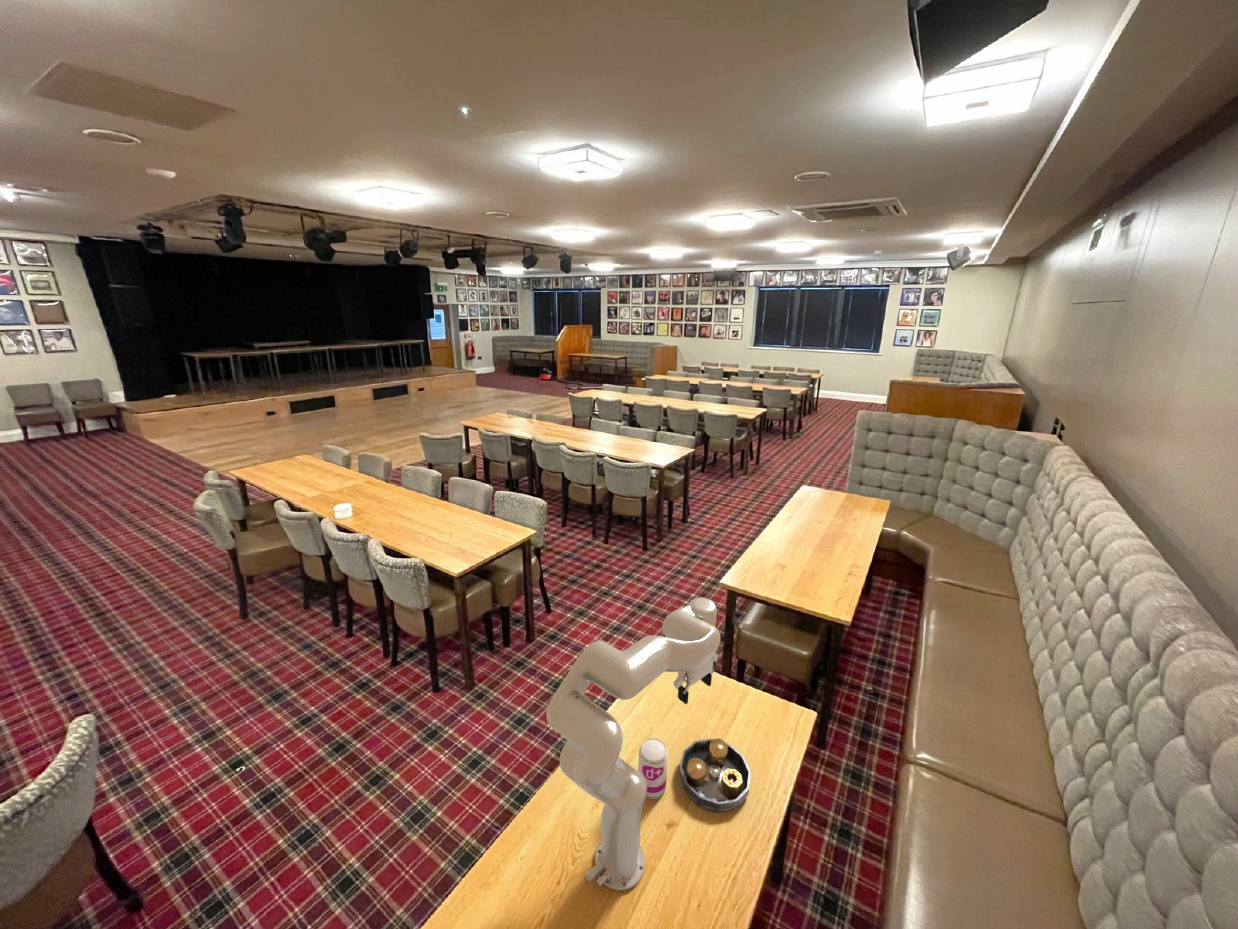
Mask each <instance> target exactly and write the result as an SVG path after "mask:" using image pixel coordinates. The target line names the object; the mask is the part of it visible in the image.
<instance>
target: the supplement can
mask: <svg viewBox="0 0 1238 929" xmlns="http://www.w3.org/2000/svg"><path fill="white" fill-rule="evenodd" d="M668 763H669V750H668V748H667V747H666V745H665V743H664V742H663V740H661V739H658V738H653V737H652V738H648V739H646V740H645V741H644V742H642V744H641V745H640V747H639V749H638V766H637V767H638V768H637V769H638V770H637V771H638V772H639V773H640V774H641V775H642V776H643V778H644V779H645V781H646V784H647V793H646V797H645V799H646V798H647V799H649V800H657V799H659V798H660V797H662V796H663V795H664V794H665V792H666V788H667V780H668V779H667V778H668V766H669V765H668Z"/></svg>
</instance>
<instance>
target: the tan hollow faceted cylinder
mask: <svg viewBox="0 0 1238 929" xmlns="http://www.w3.org/2000/svg"><path fill="white" fill-rule="evenodd" d="M729 778H733V779H734V782H730V781H729ZM720 786H721V793H722V794H723V795H724V796H725V797H726V798H727V799H737V798H738V796H739V795H740V794H741V789H742V776H741V774H740V773H739V772H737V771H736V770H735V769H726V770H725V771H724V772H723V773H722V778H721V785H720Z"/></svg>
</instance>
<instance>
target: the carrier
mask: <svg viewBox="0 0 1238 929" xmlns="http://www.w3.org/2000/svg"><path fill="white" fill-rule="evenodd" d="M726 769H735V770H736V771H737V772H739V773H740V774H741V776H742V789H741V794H740V795H739V796H738V798H737V799H727V798H726V797H725V796H724V795H723V794H722V793H721V786H720V785H721V778H722V773H723V772H724V771H725V770H726ZM678 770H679V771H678V774H679V778H680V784H681V786H682V788H683V790H684V792H685V794H686V795H687V796H688V798H689V799H691V801H692V802H694V804H696V805H697V806H699V807H701V808H702V809H704V810H706V811H710V812H714V813H728V812H731V811H734V810H736V809H738V808H739V807H741V805H742V804H744V802H745V801H746V799H747V797H748V795H749V792H750V785H751V776H752V775H751V774H752V771H751V769H750V767H749V764H748V762H747V761H746V759H745V756H744V755H743V754H742V753H741V752H740V751H739V750H737V749H736V748H735V747H734V746H732V745H731V744H730V743H728V742H726V741H725V740H723V739H721V738H705V739H699V740H694V741H693V742H692V743H691V744H689V745H688V746H687V747H686V748H685V749H684V750H683V751H682V755H681V760H680V763H679V769H678ZM729 781H730V782H734V779H733V778H729Z"/></svg>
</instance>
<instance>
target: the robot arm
mask: <svg viewBox="0 0 1238 929" xmlns="http://www.w3.org/2000/svg"><path fill="white" fill-rule="evenodd" d="M717 612H718V609H717V606H716V604H715V603H714V601H713V600H711V599H708V598H707V597H696V598H693V599H691V600H690V601H689V603H688V604H687V605H685V606H682V607H679V608H677V609H675V610H673V611H672V612H670V613H669V614H667V615H666V617H665V618H664V620H663V623H662V633H663V635H665V636H661V635H655V634H654V635H653V634H652V635H646V636H644V637H641V639H640V640H638V641H636V642H635V643H633V644H632V645H631V646H629V647H628V648H626V649H624V650H620V649H617V648H616V647H614V646H613V645H611V644H609V643H608V642H605V641H604V640H596V641H594V642H591V643H590V644H589V645H588V646H587V647H586V648H585V649H584V650H583V651H582V653H580V655H579V656H578V657H577V659H576V660H575V662H574V663H573V665H572V666H571V668H570V669H569V671H568V673H567V674H565V677H564V679H563V680H562V682H561V684H560V685H559V687H557V689H556V691H555V692H554V694H553V696H552V697H551V699H550V701H549V703H548V705H547V708H546V721H547V723H548V725H549V726H550V727H551V729H553V730H554V731H555V732H556V733H557V734H559V735H560V736H561V737H563V739H565V740H566V742H565V743H564V745H563V747H562V749H561V752H560V756H559V768H560V771H561V772H562V773H563V774H564V775H565V776H566V777H567V778H568V779H570V780H571V781H572V782H573V783H575V784H576V785H577V786H578V787H579V788H580V789H582V790H583V791H584V792H586V793H587V794H588V795H590V796H592V797H593V798H594V799H597V800H598V801H600V802H601V803H602V804H603V805H604V806H603V808H602V811H601V815H600V816H601V822H600V823H601V826H600V830H601V833H600V834H601V835H600V836H601V839H600V841H601V842H600V844H599V845H598V846H597V849H596V852H595V856H594V866H593V867H592V868H590V869H589V870H588V871H587V872H585V878H586V880H587V881H588V882H589V883H591V882H593V880H594V879H596V876H598V878H597V880H595V881H596V885H597V886H598V887H601V886H602V885H604V886H605V887H607V888H609V889H611V890H613V891H618V892H623V891H627V890H630V889H632V888H633V887H635V886H636V885H637V884H638V883H640V881H641V879H642V878H643V876H644V872H645V867H646V857H645V852H644V850H643V847H642V846H641V829H642V828H641V826H642V811H643V807H644V803H645V800H646V793H647V784H646V781H645V779H644V778H643V776H642V775H641V774H640V773H639V772H638V770H637V769H636V768H635V767H633V766H632V765H630V764H629V763H628V762H626V761H625V760H624V759H622V758H620V757H619V756H620V753H621V751H622V748H623V744H624V742H623V741H624V736H623V731H622V728H621V726H620V723H618V721H617V720H616V719H615V717H614V716H613V715H612V714H610V713H609V712H608V711H607V710H605V709H604V708H602V707H601V706H600V705H598V704H597V703H596V702H594V701H593V700H592V699H590V698H588V697H587V696H585V693H586V691H587V689H588V687H589V686H590V684H591V683H592V684H593V685H595V686H596V687H598V688H599V689H601V690H602V691H604V692H605V693H606V694H609V695H610V696H611V697H613V698H616V699H618V700H622V701H623V700H625V701H627V700H631V699H632V698H634V697H635V696H636V695H638V694H639V693H640V692H642V691H643V690H644V689H645V688H646V687H648V686H649V685H650V684H651V683H652V682H653V681H655V680H656V679H657V678H658V677H660V676H661V675H662V674H663V673H675V672H676V673H677V677H676V678H675V679H674V681H673V683H672V685H673V686H674V688H675V689H676V690H677V698H678V700H679V701H680V702H682V703H683V704H685V705H687V704H689V696H690V695H689V694H690V692H689V688H690V687H691V686H693V685H695V684H696V683H698V682H699V681H701V682H702V683H703V684H704V685H707V686H708V687H710V686H712V678H713V673H715V672H714V671H715V670H714V668H715V666H716V665H717V661H718V658H719V654H718V653H716V651H717V650H718V648H719V646H720V643H721V633H720V631H719V630H718V628H717V627H716V624H717V615H718V614H717ZM684 683H685V687H684V686H683V684H684Z"/></svg>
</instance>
